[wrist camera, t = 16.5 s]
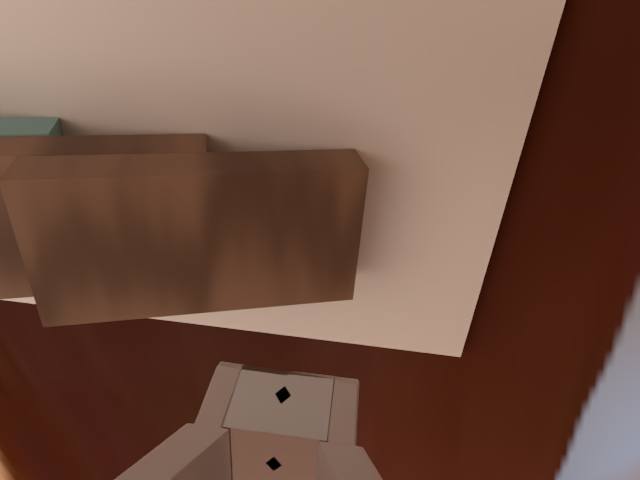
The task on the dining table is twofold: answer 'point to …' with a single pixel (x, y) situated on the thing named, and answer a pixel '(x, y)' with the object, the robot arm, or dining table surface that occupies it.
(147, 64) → the mat
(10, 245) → the domino
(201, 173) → the domino
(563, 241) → the dining table surface
